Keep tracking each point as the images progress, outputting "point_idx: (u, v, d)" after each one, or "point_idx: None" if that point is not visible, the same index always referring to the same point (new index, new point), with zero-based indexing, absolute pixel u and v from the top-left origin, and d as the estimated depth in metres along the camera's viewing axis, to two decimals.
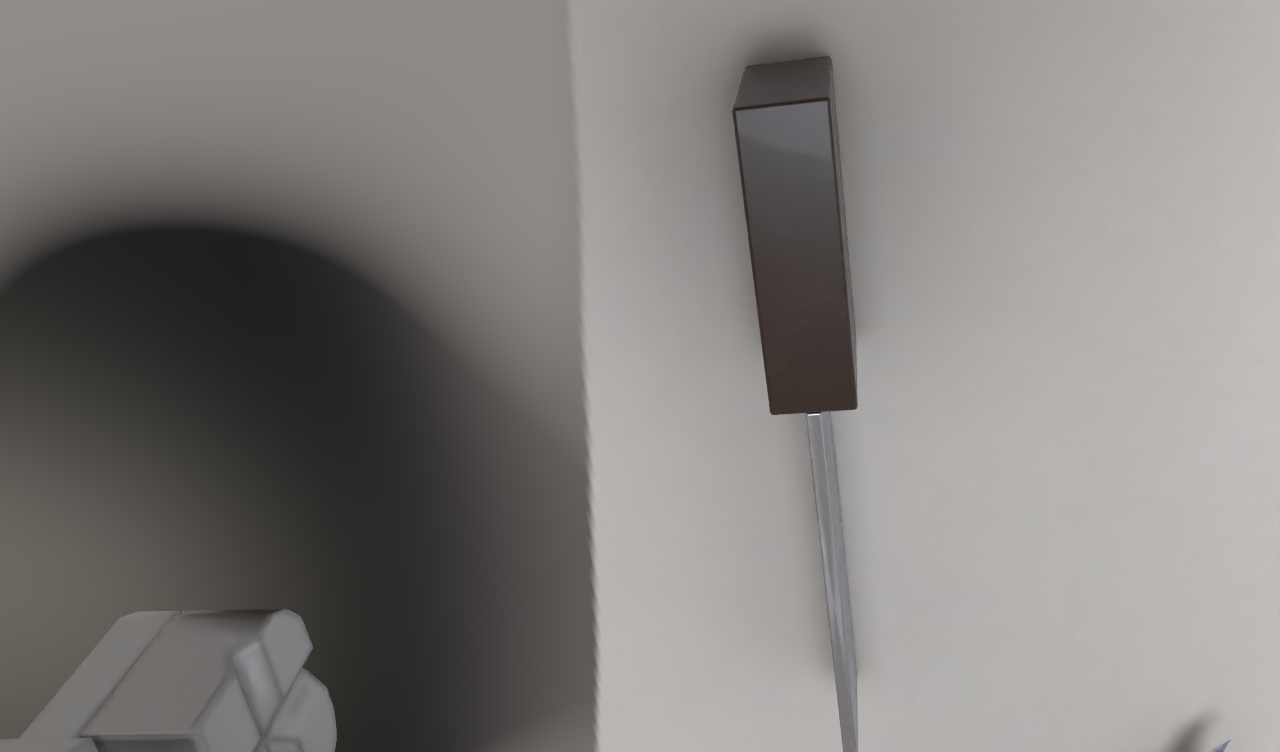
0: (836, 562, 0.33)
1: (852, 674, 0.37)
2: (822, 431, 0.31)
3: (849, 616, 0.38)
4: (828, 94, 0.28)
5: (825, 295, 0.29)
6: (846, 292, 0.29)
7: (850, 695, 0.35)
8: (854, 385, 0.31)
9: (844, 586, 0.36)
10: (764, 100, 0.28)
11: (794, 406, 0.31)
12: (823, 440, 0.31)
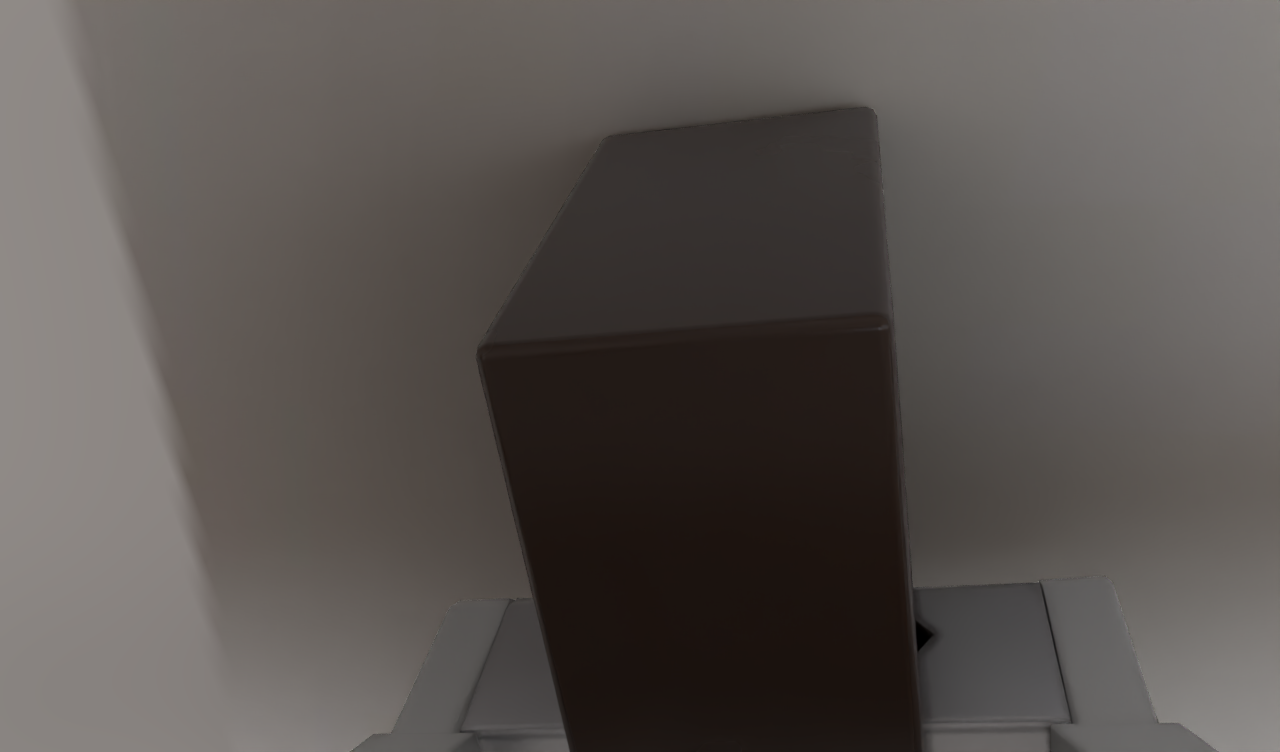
0: None
1: None
2: None
3: None
4: (884, 294, 0.06)
5: None
6: None
7: None
8: None
9: None
10: (614, 307, 0.07)
11: None
12: None
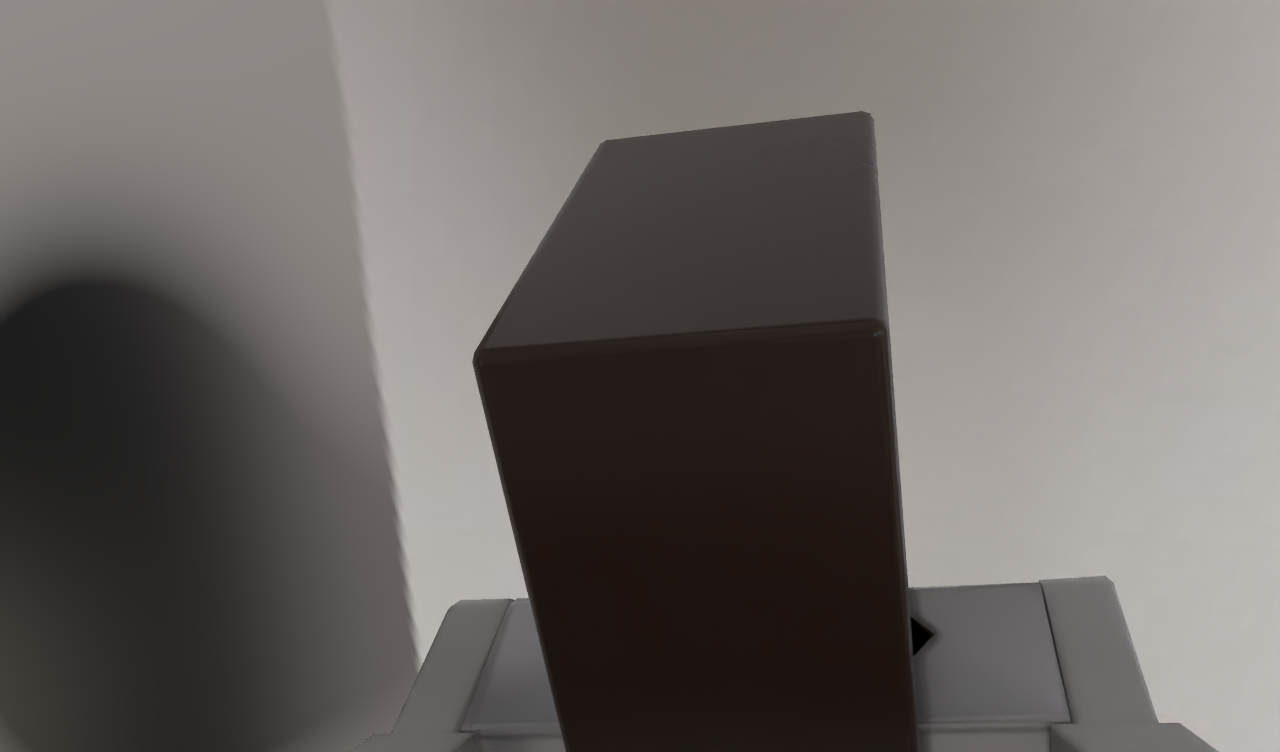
0: None
1: None
2: None
3: None
4: (879, 299, 0.06)
5: None
6: None
7: None
8: None
9: None
10: (610, 313, 0.07)
11: None
12: None
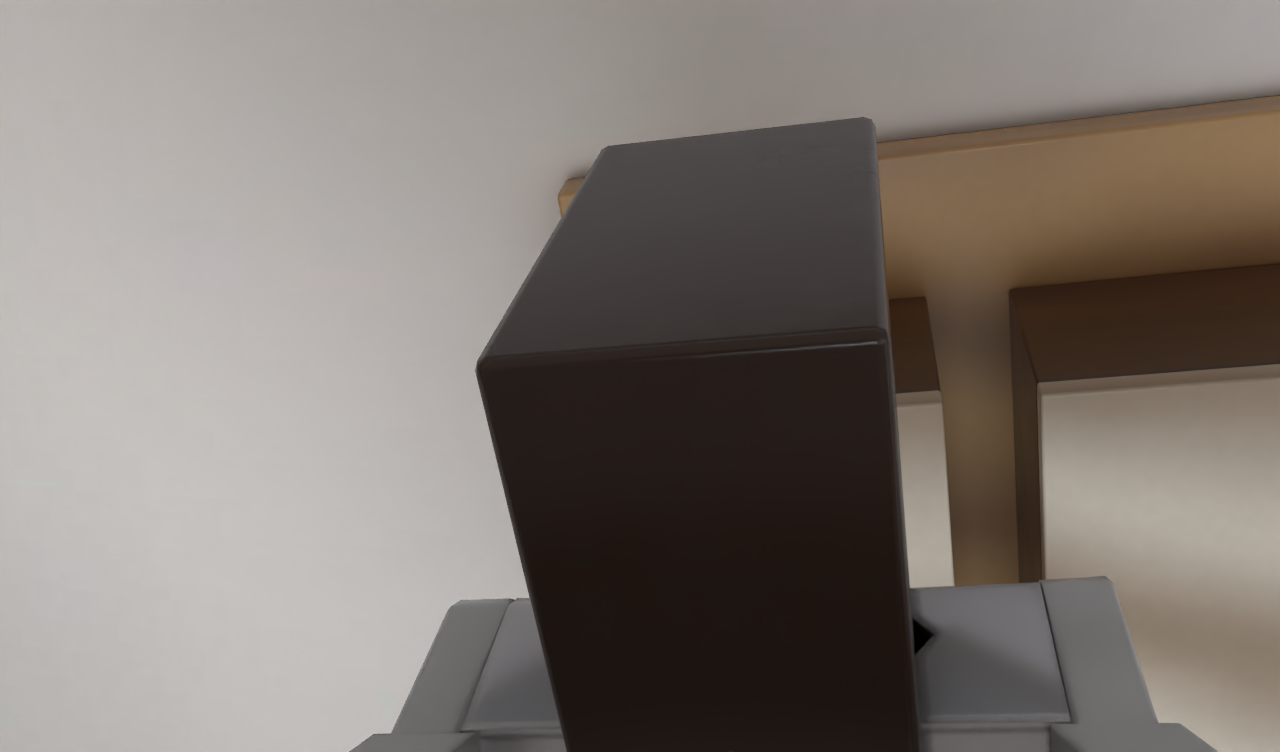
0: None
1: None
2: None
3: None
4: (881, 308, 0.06)
5: None
6: None
7: None
8: None
9: None
10: (612, 321, 0.07)
11: None
12: None
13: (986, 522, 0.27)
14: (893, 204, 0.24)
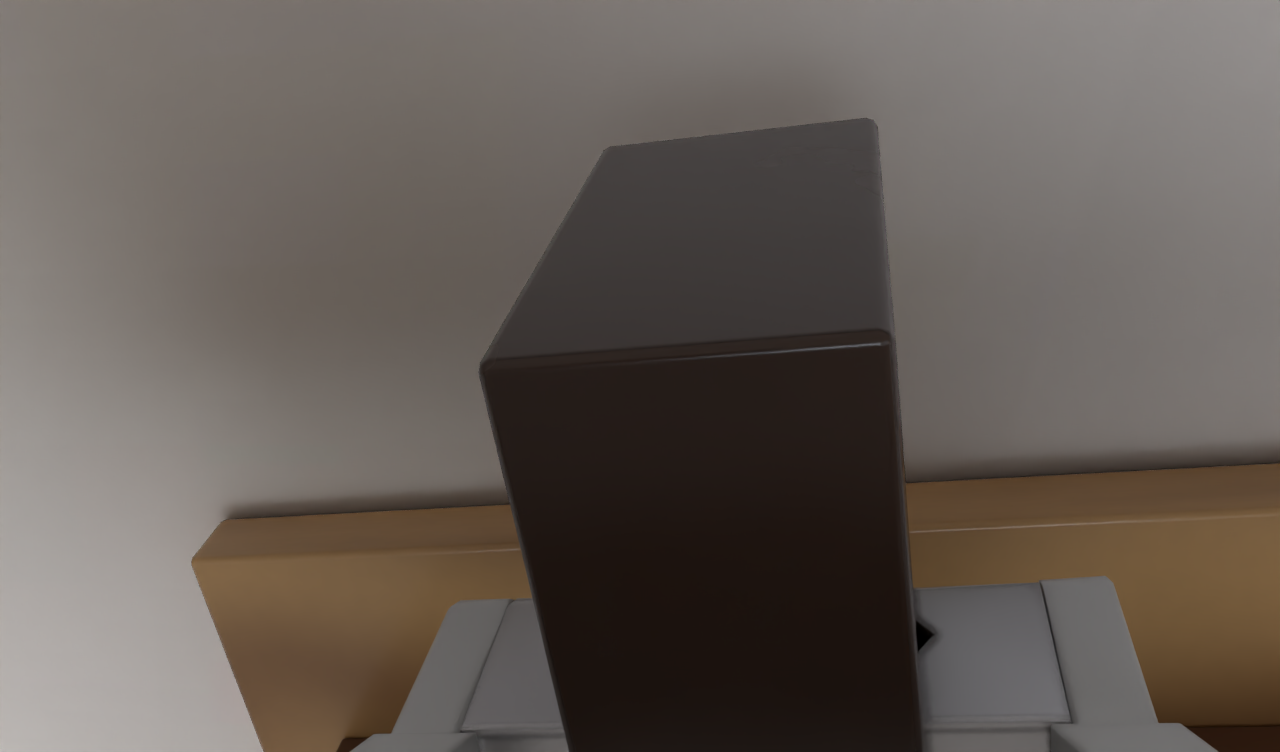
0: None
1: None
2: None
3: None
4: (885, 309, 0.06)
5: None
6: None
7: None
8: None
9: None
10: (616, 320, 0.07)
11: None
12: None
13: None
14: None
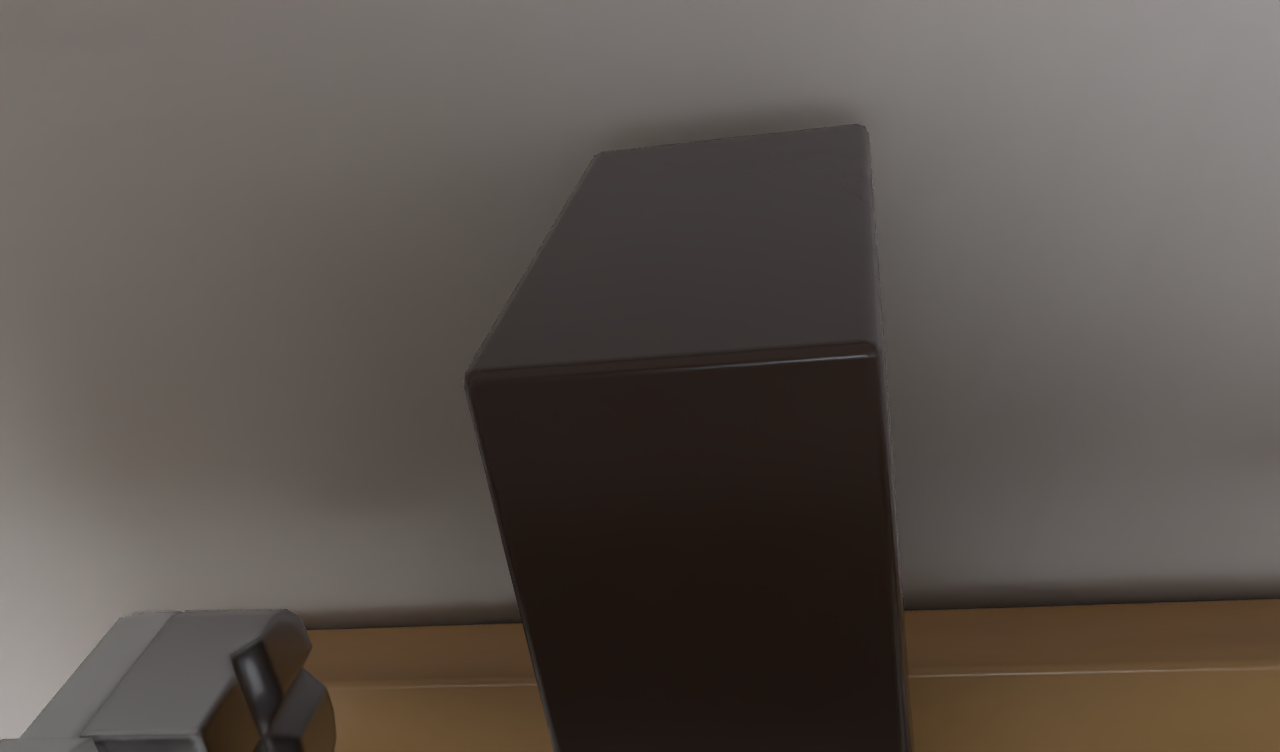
0: None
1: None
2: None
3: None
4: (873, 321, 0.06)
5: None
6: None
7: None
8: None
9: None
10: (603, 333, 0.07)
11: None
12: None
13: None
14: None
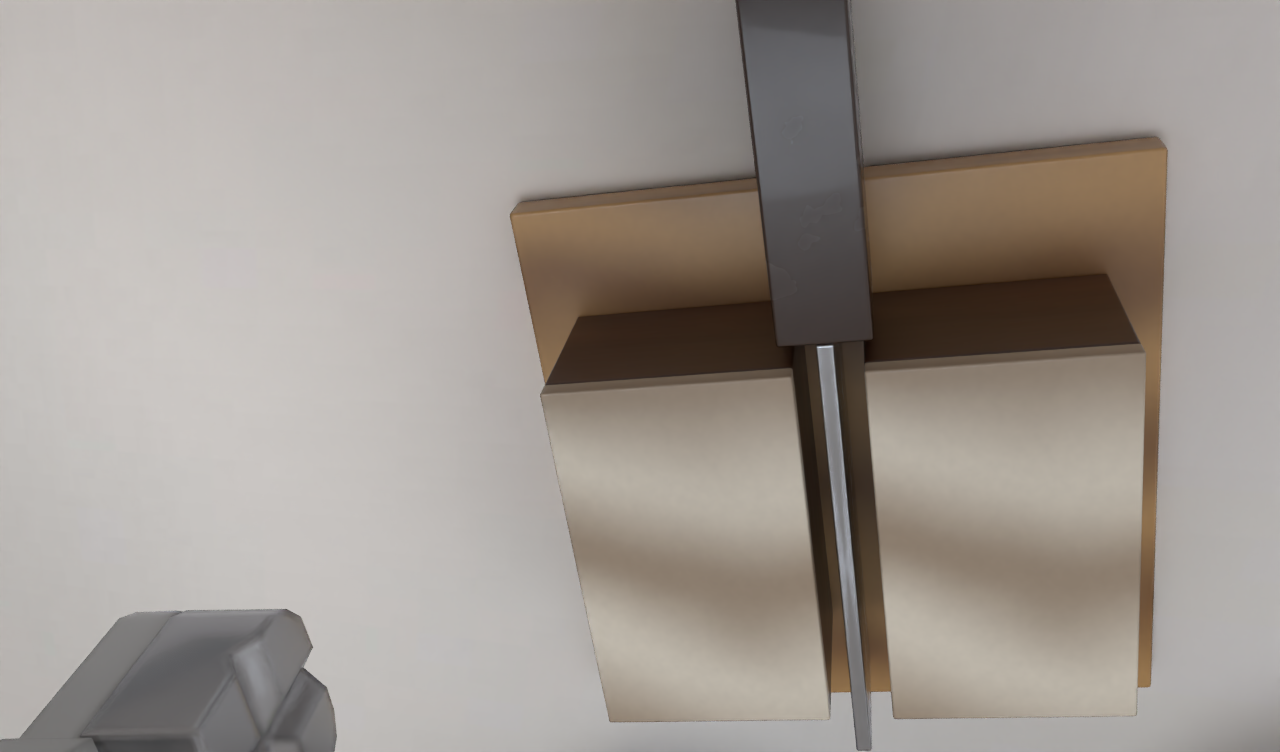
0: (849, 518, 0.30)
1: (865, 649, 0.33)
2: (834, 366, 0.28)
3: (862, 586, 0.34)
4: None
5: (839, 206, 0.26)
6: (862, 203, 0.26)
7: (863, 670, 0.32)
8: (870, 312, 0.27)
9: (857, 550, 0.32)
10: None
11: (803, 337, 0.28)
12: (835, 376, 0.28)
13: None
14: None
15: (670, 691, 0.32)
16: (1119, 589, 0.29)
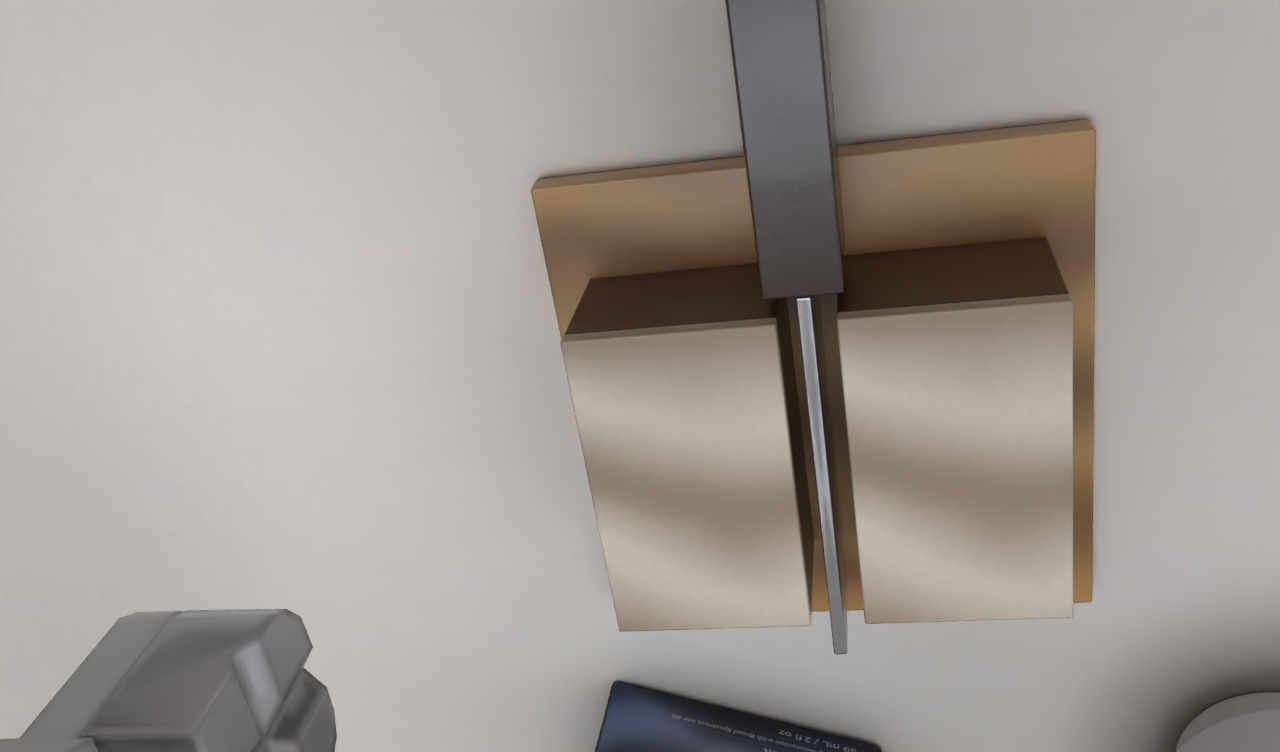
0: (825, 447, 0.34)
1: (841, 567, 0.38)
2: (811, 315, 0.33)
3: (839, 513, 0.39)
4: None
5: (814, 179, 0.31)
6: (834, 176, 0.31)
7: (839, 582, 0.37)
8: (842, 269, 0.32)
9: (834, 480, 0.37)
10: None
11: (784, 291, 0.32)
12: (812, 324, 0.33)
13: (832, 423, 0.39)
14: None
15: (672, 602, 0.37)
16: (1055, 506, 0.34)
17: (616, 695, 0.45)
